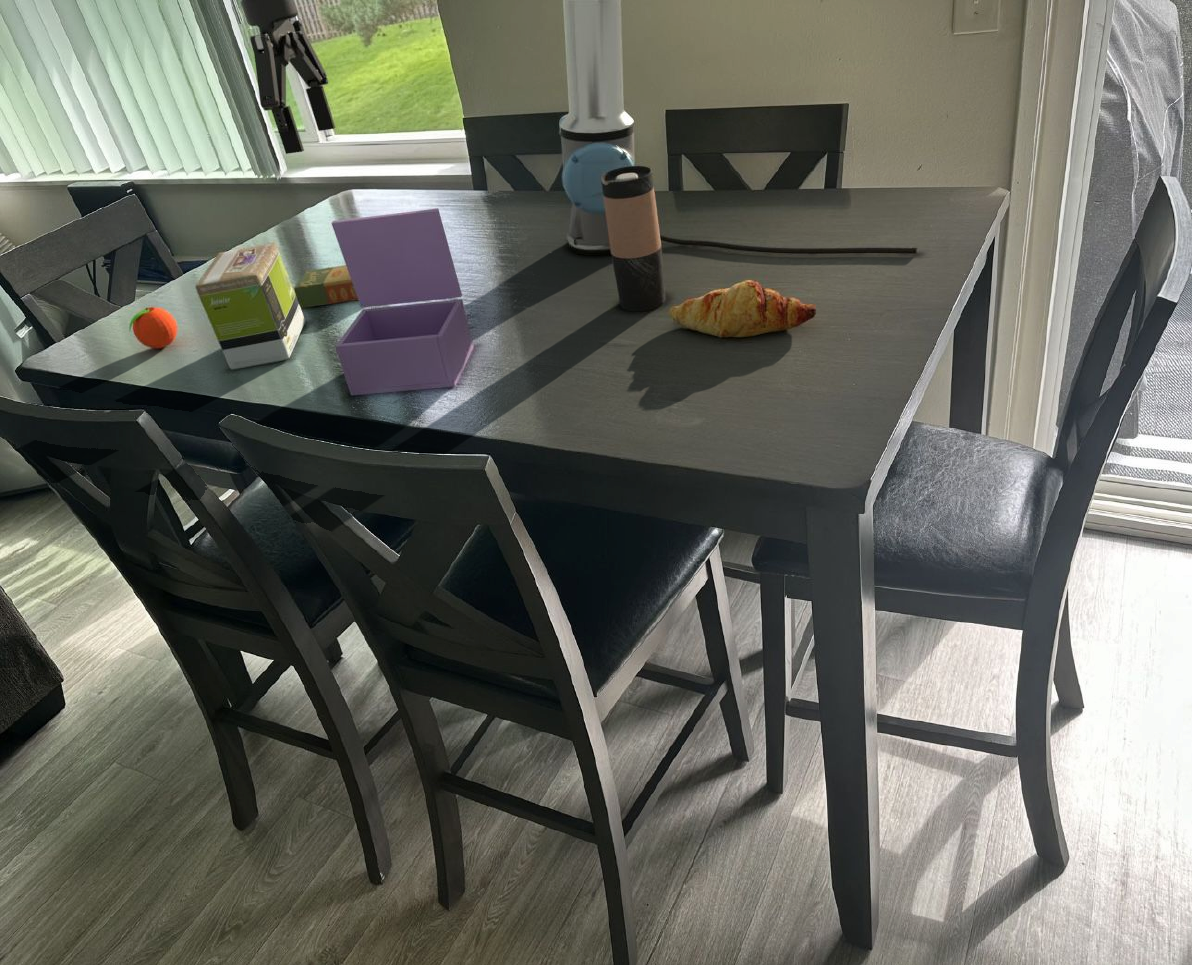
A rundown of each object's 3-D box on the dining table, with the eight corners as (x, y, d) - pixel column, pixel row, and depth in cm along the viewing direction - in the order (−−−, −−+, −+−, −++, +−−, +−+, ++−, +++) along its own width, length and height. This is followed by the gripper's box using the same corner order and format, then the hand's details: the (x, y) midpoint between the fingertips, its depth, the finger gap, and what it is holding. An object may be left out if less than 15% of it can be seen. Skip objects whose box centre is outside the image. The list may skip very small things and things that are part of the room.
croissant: (668, 354, 137) (654, 321, 130) (680, 299, 141) (667, 264, 134) (815, 354, 129) (808, 319, 122) (823, 296, 133) (817, 259, 127)
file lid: (437, 210, 128) (438, 208, 129) (331, 223, 131) (332, 220, 131) (461, 297, 136) (462, 294, 137) (360, 307, 139) (362, 305, 140)
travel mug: (672, 291, 147) (658, 164, 136) (659, 312, 142) (643, 180, 131) (627, 292, 150) (609, 166, 139) (612, 312, 144) (592, 183, 133)
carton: (386, 297, 165) (379, 274, 162) (299, 309, 166) (291, 286, 164) (395, 279, 172) (389, 257, 169) (312, 290, 173) (304, 269, 171)
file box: (455, 386, 131) (441, 336, 127) (350, 395, 134) (334, 346, 129) (474, 346, 141) (462, 298, 137) (376, 355, 144) (362, 309, 140)
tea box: (250, 332, 160) (218, 250, 152) (307, 322, 160) (278, 239, 152) (228, 371, 148) (192, 283, 139) (290, 360, 147) (258, 272, 139)
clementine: (153, 360, 156) (135, 321, 152) (129, 355, 160) (111, 317, 156) (192, 339, 162) (175, 301, 158) (167, 335, 165) (151, 298, 161)
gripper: (275, -16, 147) (318, 123, 159) (201, 8, 127) (257, 165, 138) (319, -23, 146) (359, 117, 157) (251, -1, 125) (303, 159, 137)
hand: (311, 140), depth 148 cm, fingers open, 13 cm apart
